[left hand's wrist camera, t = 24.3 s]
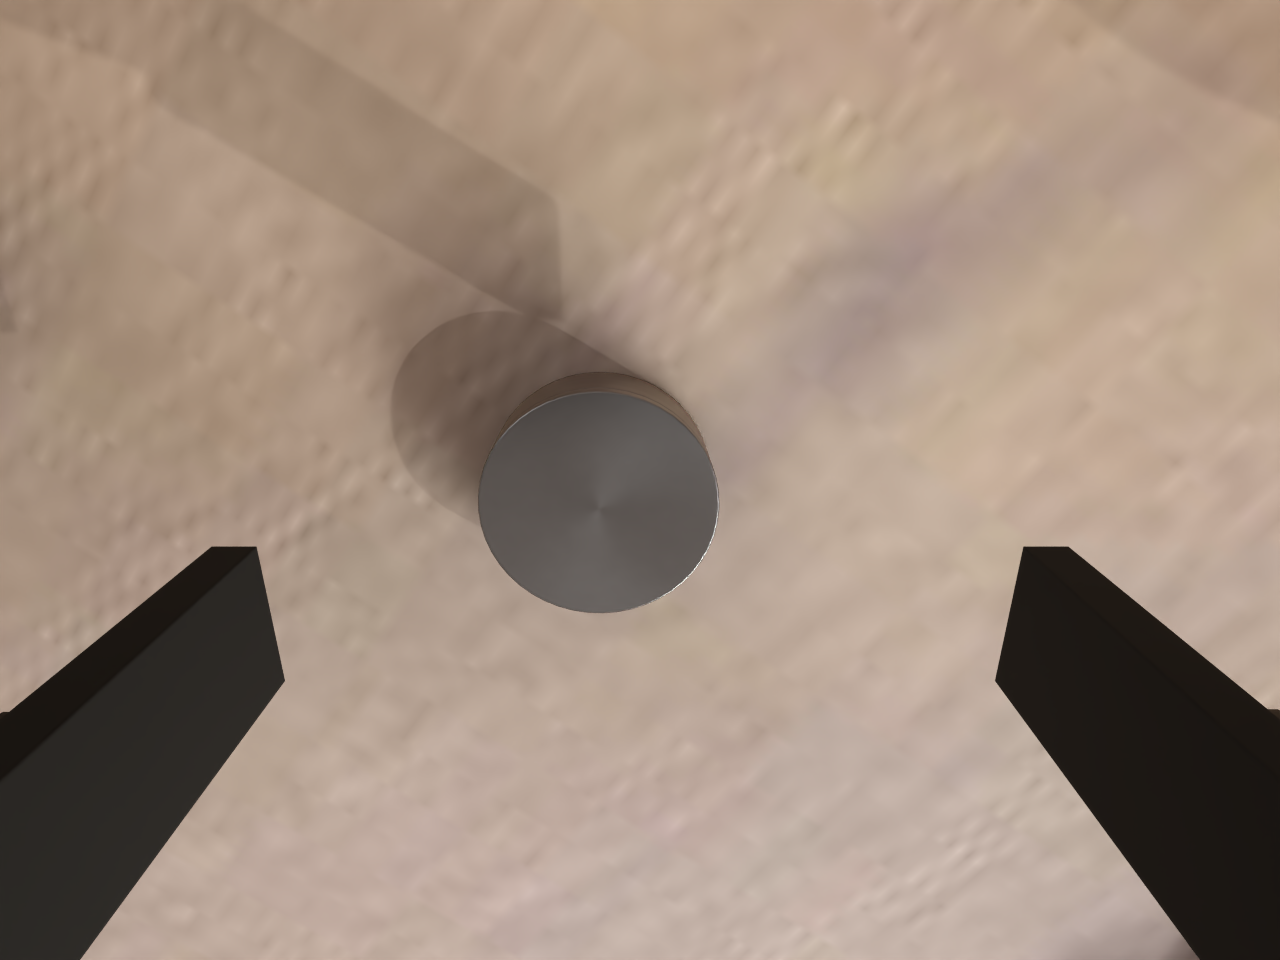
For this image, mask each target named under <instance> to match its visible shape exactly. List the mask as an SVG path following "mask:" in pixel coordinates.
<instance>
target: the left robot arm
mask: <svg viewBox="0 0 1280 960" xmlns="http://www.w3.org/2000/svg"><path fill="white" fill-rule="evenodd" d="M284 681H285V679H284V674H283V670H282V665H281V660H280V655H279V651H278V646H277V641H276V636H275V632H274V627H273V622H272V618H271V613H270V608H269V603H268V599H267V594H266V589H265V585H264V580H263V575H262V570H261V566H260V561H259V556H258V552H257V547H211V548H209V549H208V550H207V551H206V552H205V553H203V554H202V555H201V556H200V557H198V558H197V559H196V560H195V561H194V562H192V563H191V564H190V565H189V566H187V567H186V568H185V569H184V570H183V571H181V572H180V573H179V574H178V575H176V576H175V577H174V578H173V579H171V580H170V581H169V582H168V583H167V584H165V585H164V586H163V587H162V588H160V589H159V590H158V591H157V592H156V593H154V594H153V595H152V596H151V597H149V598H148V599H147V600H146V601H145V602H143V603H142V604H141V605H140V606H138V607H137V608H136V609H135V610H133V611H132V612H131V613H130V614H129V615H127V616H126V617H125V618H124V619H122V620H121V621H120V622H119V623H118V624H116V625H115V626H114V627H113V628H111V629H110V630H109V631H108V632H107V633H105V634H104V635H103V636H102V637H100V638H99V639H98V640H97V641H96V642H94V643H93V644H92V645H91V646H89V647H88V648H87V649H86V650H84V651H83V652H82V653H81V654H80V655H78V656H77V657H76V658H75V659H73V660H72V661H71V662H70V663H69V664H67V665H66V666H65V667H64V668H62V669H61V670H60V671H59V672H58V673H56V674H55V675H54V676H53V677H51V678H50V679H49V680H48V681H46V682H45V683H44V684H43V685H42V686H40V687H39V688H38V689H37V690H35V691H34V692H33V693H32V694H31V695H29V696H28V697H27V698H26V699H24V700H23V701H22V702H21V703H20V704H18V705H17V706H16V707H15V708H13V709H12V710H11V711H10V712H2V713H0V960H80V959H81V958H82V956H83V955H84V954H85V952H86V951H87V950H88V948H89V947H90V946H91V944H92V943H93V942H94V940H95V939H96V937H97V936H98V935H99V933H100V932H101V931H102V929H103V928H104V927H105V925H106V924H107V922H108V921H109V920H110V918H111V917H112V916H113V914H114V913H115V912H116V910H117V909H118V907H119V906H120V905H121V903H122V902H123V901H124V899H125V898H126V897H127V895H128V894H129V892H130V891H131V890H132V888H133V887H134V886H135V884H136V883H137V882H138V880H139V879H140V877H141V876H142V875H143V873H144V872H145V871H146V869H147V868H148V867H149V865H150V864H151V862H152V861H153V860H154V858H155V857H156V856H157V854H158V853H159V852H160V850H161V849H162V848H163V846H164V845H165V843H166V842H167V841H168V839H169V838H170V837H171V835H172V834H173V833H174V831H175V830H176V828H177V827H178V826H179V824H180V823H181V822H182V820H183V819H184V818H185V816H186V815H187V813H188V812H189V811H190V809H191V808H192V807H193V805H194V804H195V803H196V801H197V800H198V798H199V797H200V796H201V794H202V793H203V792H204V790H205V789H206V788H207V786H208V785H209V783H210V782H211V781H212V779H213V778H214V777H215V775H216V774H217V773H218V771H219V770H220V769H221V767H222V766H223V764H224V763H225V762H226V760H227V759H228V758H229V756H230V755H231V754H232V752H233V751H234V749H235V748H236V747H237V745H238V744H239V743H240V741H241V740H242V739H243V737H244V736H245V734H246V733H247V732H248V730H249V729H250V728H251V726H252V725H253V724H254V722H255V721H256V719H257V718H258V717H259V715H260V714H261V713H262V711H263V710H264V709H265V707H266V706H267V704H268V703H269V702H270V700H271V699H272V698H273V696H274V695H275V694H276V692H277V691H278V690H279V688H280V687H281V685H282V684H283V683H284ZM995 681H996V683H997V684H998V685H999V687H1000V688H1001V690H1002V691H1003V692H1004V694H1005V695H1006V696H1007V698H1008V699H1009V700H1010V702H1011V703H1012V704H1013V706H1014V707H1015V709H1016V710H1017V711H1018V713H1019V714H1020V715H1021V717H1022V718H1023V719H1024V721H1025V722H1026V724H1027V725H1028V726H1029V728H1030V729H1031V730H1032V732H1033V733H1034V734H1035V736H1036V737H1037V739H1038V740H1039V741H1040V743H1041V744H1042V745H1043V747H1044V748H1045V749H1046V751H1047V752H1048V754H1049V755H1050V756H1051V758H1052V759H1053V760H1054V762H1055V763H1056V764H1057V766H1058V767H1059V769H1060V770H1061V771H1062V773H1063V774H1064V775H1065V777H1066V778H1067V779H1068V781H1069V782H1070V783H1071V785H1072V786H1073V788H1074V789H1075V790H1076V792H1077V793H1078V794H1079V796H1080V797H1081V798H1082V800H1083V801H1084V803H1085V804H1086V805H1087V807H1088V808H1089V809H1090V811H1091V812H1092V813H1093V815H1094V816H1095V818H1096V819H1097V820H1098V822H1099V823H1100V824H1101V826H1102V827H1103V828H1104V830H1105V831H1106V833H1107V834H1108V835H1109V837H1110V838H1111V839H1112V841H1113V842H1114V843H1115V845H1116V846H1117V848H1118V849H1119V850H1120V852H1121V853H1122V854H1123V856H1124V857H1125V858H1126V860H1127V861H1128V862H1129V864H1130V865H1131V867H1132V868H1133V869H1134V871H1135V872H1136V873H1137V875H1138V876H1139V877H1140V879H1141V880H1142V882H1143V883H1144V884H1145V886H1146V887H1147V888H1148V890H1149V891H1150V892H1151V894H1152V895H1153V897H1154V898H1155V899H1156V901H1157V902H1158V903H1159V905H1160V906H1161V907H1162V909H1163V910H1164V912H1165V913H1166V914H1167V916H1168V917H1169V918H1170V920H1171V921H1172V922H1173V924H1174V925H1175V927H1176V928H1177V929H1178V931H1179V932H1180V933H1181V935H1182V936H1183V937H1184V939H1185V940H1186V942H1187V943H1188V944H1189V946H1190V947H1191V948H1192V950H1193V951H1194V952H1195V954H1196V955H1197V956H1198V958H1199V959H1200V960H1280V710H1278V709H1267V708H1265V707H1264V706H1263V705H1262V704H1260V703H1259V702H1258V701H1257V700H1256V699H1254V698H1253V697H1252V696H1251V695H1249V694H1248V693H1247V692H1246V691H1245V690H1243V689H1242V688H1241V687H1240V686H1238V685H1237V684H1236V683H1235V682H1234V681H1232V680H1231V679H1230V678H1229V677H1227V676H1226V675H1225V674H1224V673H1222V672H1221V671H1220V670H1219V669H1218V668H1216V667H1215V666H1214V665H1213V664H1211V663H1210V662H1209V661H1208V660H1207V659H1205V658H1204V657H1203V656H1202V655H1200V654H1199V653H1198V652H1197V651H1196V650H1194V649H1193V648H1192V647H1191V646H1189V645H1188V644H1187V643H1186V642H1184V641H1183V640H1182V639H1181V638H1180V637H1178V636H1177V635H1176V634H1175V633H1173V632H1172V631H1171V630H1170V629H1169V628H1167V627H1166V626H1165V625H1164V624H1162V623H1161V622H1160V621H1159V620H1158V619H1156V618H1155V617H1154V616H1153V615H1151V614H1150V613H1149V612H1148V611H1147V610H1145V609H1144V608H1143V607H1142V606H1140V605H1139V604H1138V603H1137V602H1135V601H1134V600H1133V599H1132V598H1131V597H1129V596H1128V595H1127V594H1126V593H1124V592H1123V591H1122V590H1121V589H1120V588H1118V587H1117V586H1116V585H1115V584H1113V583H1112V582H1111V581H1110V580H1109V579H1107V578H1106V577H1105V576H1104V575H1102V574H1101V573H1100V572H1099V571H1097V570H1096V569H1095V568H1094V567H1093V566H1091V565H1090V564H1089V563H1088V562H1086V561H1085V560H1084V559H1083V558H1082V557H1080V556H1079V555H1078V554H1077V553H1075V552H1074V551H1073V550H1072V549H1071V548H1069V547H1023V552H1022V556H1021V561H1020V566H1019V570H1018V575H1017V580H1016V585H1015V589H1014V594H1013V599H1012V603H1011V608H1010V613H1009V618H1008V622H1007V627H1006V632H1005V637H1004V641H1003V646H1002V651H1001V655H1000V660H999V665H998V670H997V674H996V679H995Z"/></svg>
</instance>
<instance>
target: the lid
mask: <svg viewBox="0 0 1280 960" xmlns="http://www.w3.org/2000/svg"><path fill="white" fill-rule="evenodd" d="M478 511H479V517H480V523H481V527H482V530H483V534H484V537H485V539H486V542H487V544H488V546H489V548H490V550H491V552H492V554H493V555H494V557H495V558H496V560H497V561H498V563H499V564H500V566H501V567H502V568H503V569H504V570H505V571H506V573H507V574H508V575H509V576H510V577H511V578H512V579H513V580H514V581H515V582H517V583H518V584H519V585H520V586H521V587H523V588H524V589H526V590H527V591H528V592H530V593H531V594H533V595H535V596H536V597H538V598H540V599H542V600H544V601H546V602H549V603H551V604H554V605H556V606H559V607H562V608H566V609H570V610H574V611H580V612H587V613H610V612H619V611H625V610H630V609H634V608H637V607H640V606H643V605H646V604H648V603H651V602H653V601H655V600H657V599H659V598H661V597H663V596H664V595H666V594H668V593H669V592H671V591H672V590H674V589H675V588H676V587H677V586H679V585H680V584H681V583H682V582H684V581H685V579H686V578H687V577H688V576H689V575H690V574H691V573H692V572H693V571H694V570H695V569H696V567H697V566H698V565H699V563H700V562H701V561H702V559H703V557H704V556H705V554H706V552H707V550H708V549H709V546H710V544H711V542H712V539H713V537H714V534H715V530H716V526H717V522H718V514H719V490H718V485H717V479H716V475H715V472H714V469H713V466H712V463H711V460H710V458H709V455H708V452H707V449H706V446H705V443H704V441H703V438H702V436H701V434H700V432H699V430H698V428H697V426H696V424H695V423H694V421H693V420H692V419H691V417H690V416H689V414H688V413H687V412H686V411H685V410H684V409H683V408H682V406H681V405H680V404H679V403H678V402H676V401H675V400H674V399H673V398H672V397H671V396H669V395H668V394H667V393H665V392H664V391H662V390H660V389H659V388H657V387H656V386H654V385H651V384H649V383H647V382H645V381H643V380H640V379H637V378H634V377H631V376H627V375H622V374H616V373H605V372H594V373H582V374H577V375H573V376H568V377H565V378H562V379H560V380H557V381H554V382H552V383H550V384H548V385H546V386H544V387H542V388H540V389H539V390H538V391H536V392H535V393H533V394H532V395H530V396H529V397H528V398H527V399H526V400H525V401H523V402H522V403H521V404H520V405H519V406H518V407H517V408H516V410H515V411H514V412H513V413H512V414H511V416H510V417H509V419H508V420H507V422H506V423H505V425H504V427H503V428H502V430H501V432H500V434H499V436H498V438H497V440H496V442H495V444H494V446H493V448H492V450H491V452H490V454H489V456H488V458H487V461H486V463H485V465H484V468H483V471H482V475H481V479H480V484H479V492H478Z"/></svg>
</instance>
